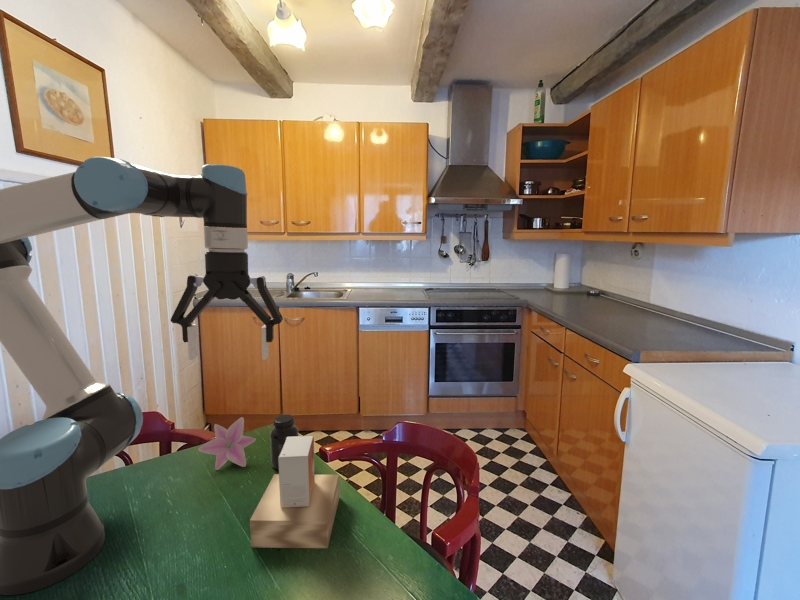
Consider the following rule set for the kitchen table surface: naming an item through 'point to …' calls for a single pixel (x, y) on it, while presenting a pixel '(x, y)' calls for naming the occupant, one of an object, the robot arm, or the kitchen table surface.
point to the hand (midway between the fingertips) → (229, 357)
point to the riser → (296, 517)
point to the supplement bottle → (281, 436)
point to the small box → (296, 471)
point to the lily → (228, 444)
